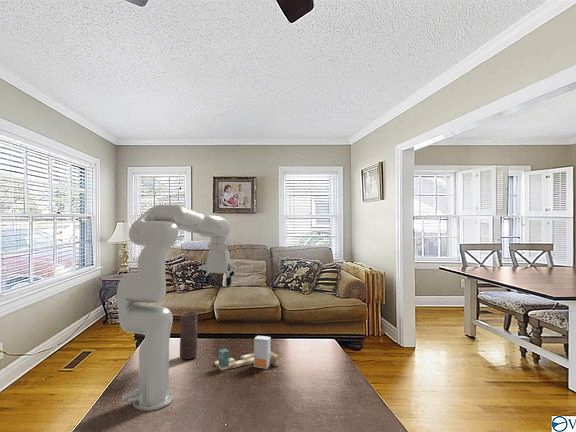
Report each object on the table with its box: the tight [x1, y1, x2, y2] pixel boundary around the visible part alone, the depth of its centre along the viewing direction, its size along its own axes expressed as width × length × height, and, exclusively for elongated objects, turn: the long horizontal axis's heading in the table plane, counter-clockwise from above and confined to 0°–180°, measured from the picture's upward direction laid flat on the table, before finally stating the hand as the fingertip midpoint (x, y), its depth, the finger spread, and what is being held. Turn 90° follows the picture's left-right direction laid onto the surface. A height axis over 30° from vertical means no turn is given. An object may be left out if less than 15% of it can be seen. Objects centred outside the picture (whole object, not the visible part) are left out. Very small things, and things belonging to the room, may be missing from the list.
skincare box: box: [253, 335, 272, 370], centre depth 153 cm, size 6×4×12 cm
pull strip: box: [218, 348, 280, 371], centre depth 152 cm, size 22×11×7 cm, turn 123°
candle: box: [179, 310, 198, 360], centre depth 161 cm, size 8×7×20 cm
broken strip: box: [214, 352, 254, 368], centre depth 159 cm, size 22×3×1 cm, turn 123°
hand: (218, 285), depth 166 cm, fingers open, 9 cm apart
